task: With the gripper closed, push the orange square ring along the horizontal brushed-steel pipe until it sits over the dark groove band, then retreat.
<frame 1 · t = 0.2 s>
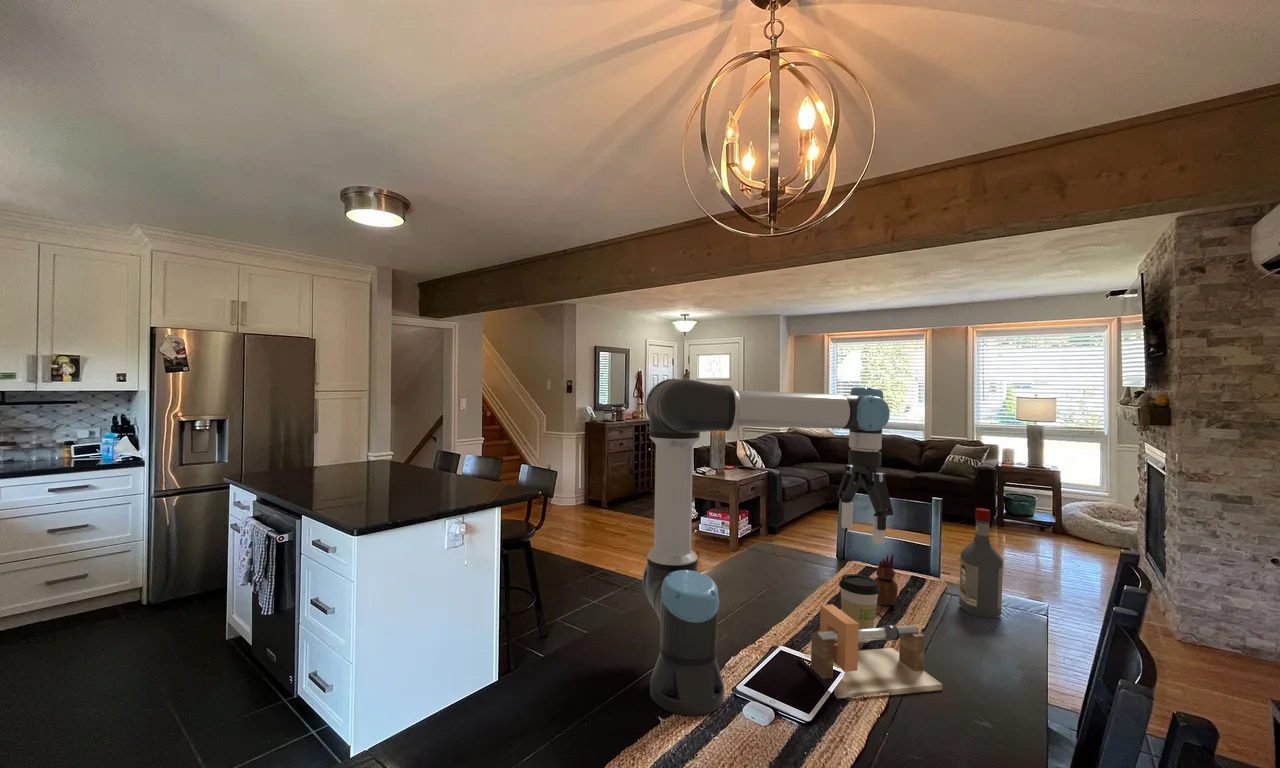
hand: (861, 535, 133), 28 cm above the table, fingers open, 13 cm apart
wooden figurine: (884, 604, 161), on the table
coffee cup: (857, 639, 137), on the table
orange square ring: (838, 636, 118), point 9 cm above the table, slide at 0.0 cm
wooden rod stand: (867, 674, 120), on the table
pipe: (868, 634, 120), point 9 cm above the table
liquor: (979, 612, 157), on the table
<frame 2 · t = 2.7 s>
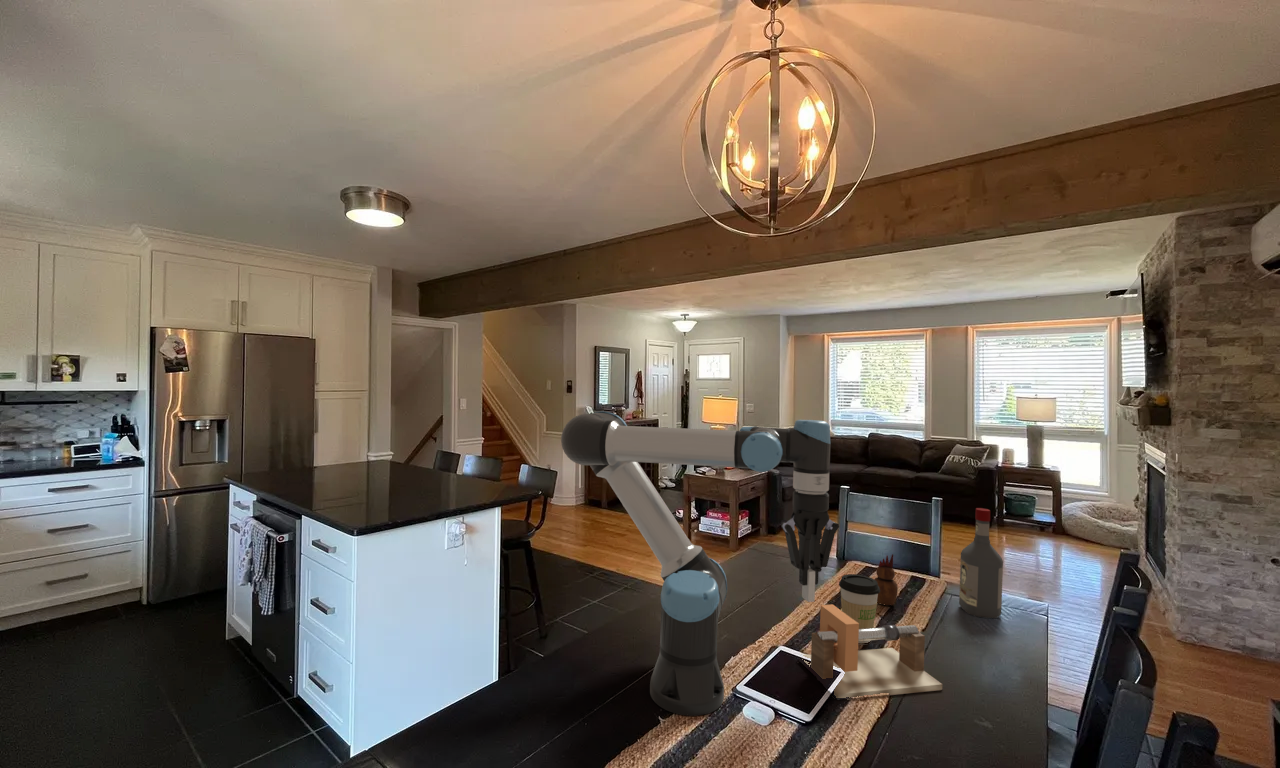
hand: (808, 599, 117), 18 cm above the table, fingers closed
nothing on the table moved.
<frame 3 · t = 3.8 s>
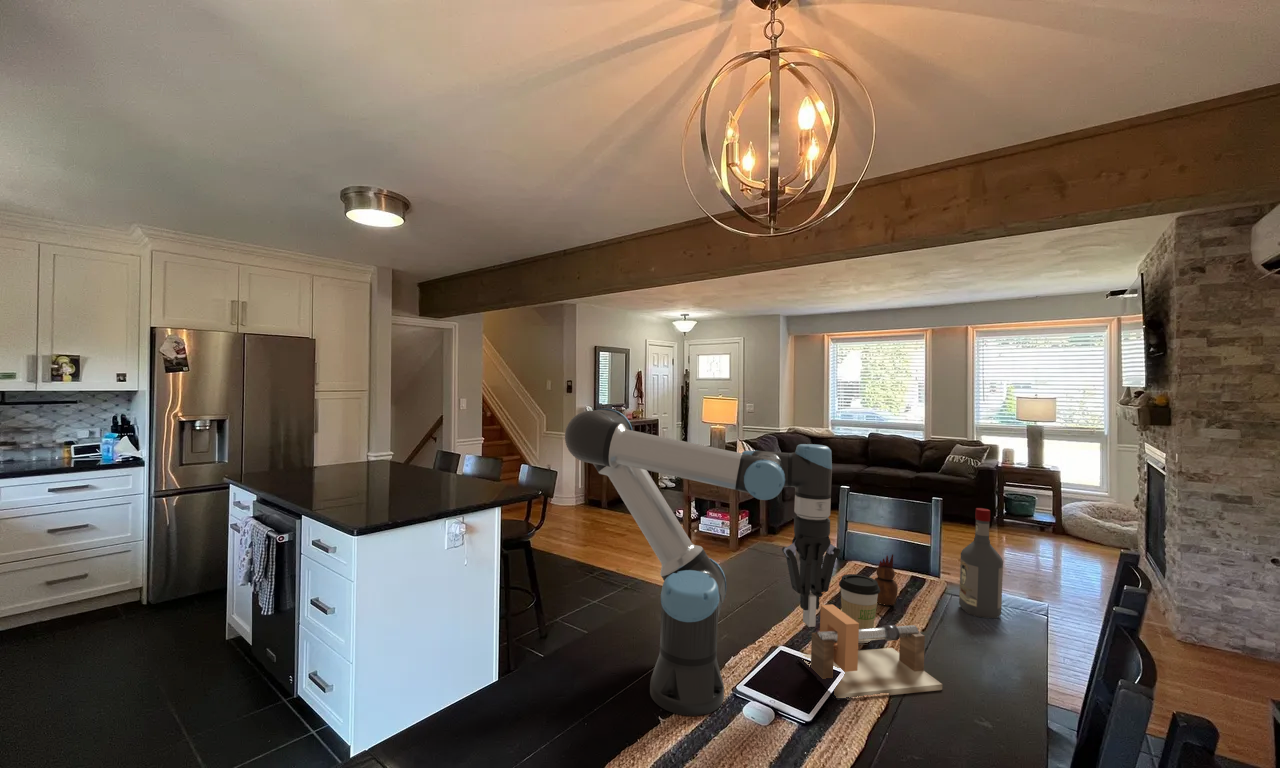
hand: (809, 623, 117), 12 cm above the table, fingers closed
nothing on the table moved.
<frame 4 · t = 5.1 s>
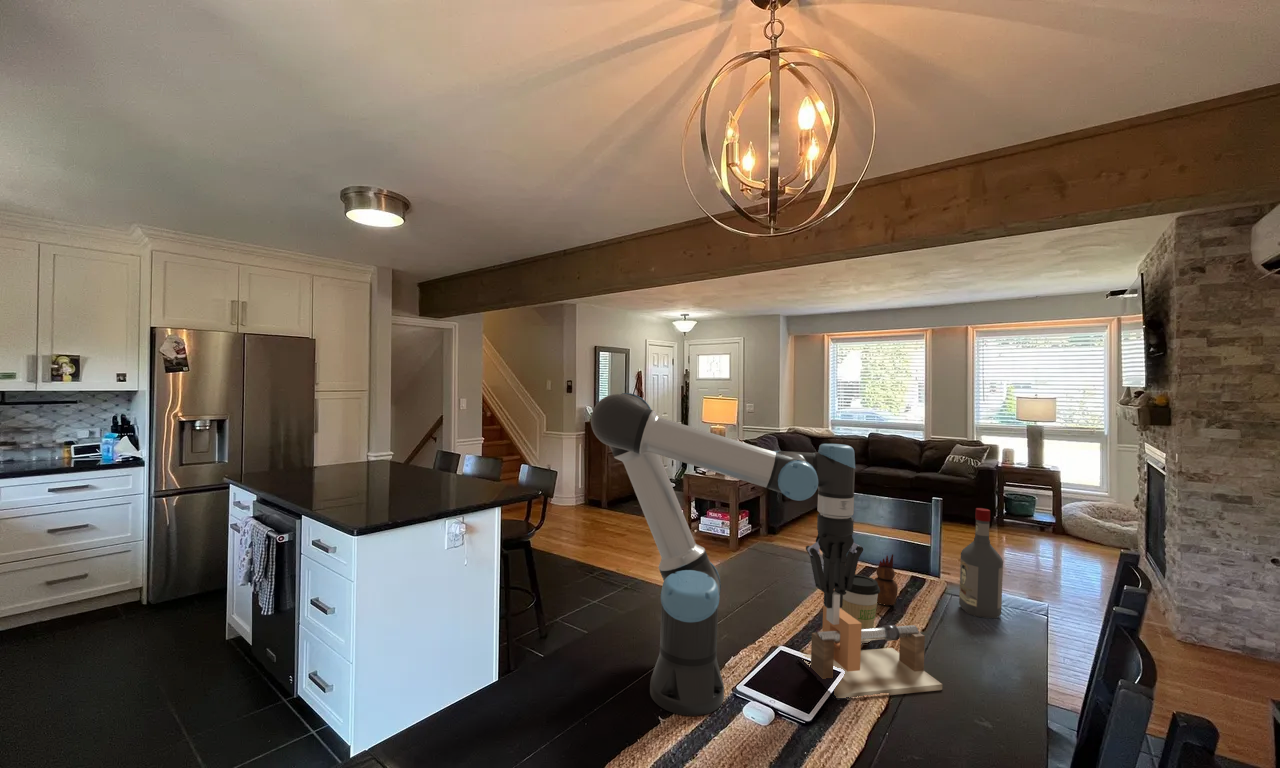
hand: (832, 621, 118), 12 cm above the table, fingers closed
orange square ring: (840, 636, 118), point 9 cm above the table, slide at 0.6 cm, touching gripper
everything else where it was.
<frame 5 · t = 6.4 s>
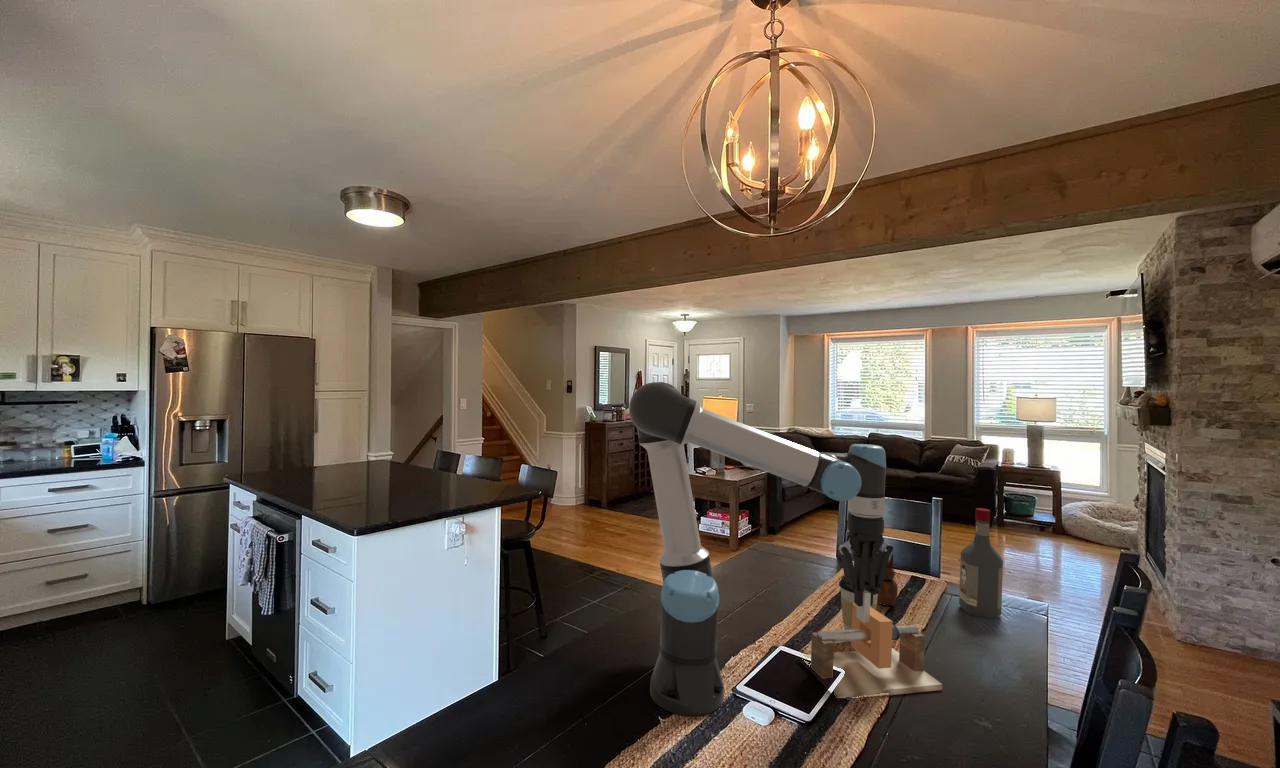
hand: (863, 619, 119), 12 cm above the table, fingers closed
orange square ring: (871, 634, 120), point 9 cm above the table, slide at 8.2 cm, touching gripper
everything else where it was.
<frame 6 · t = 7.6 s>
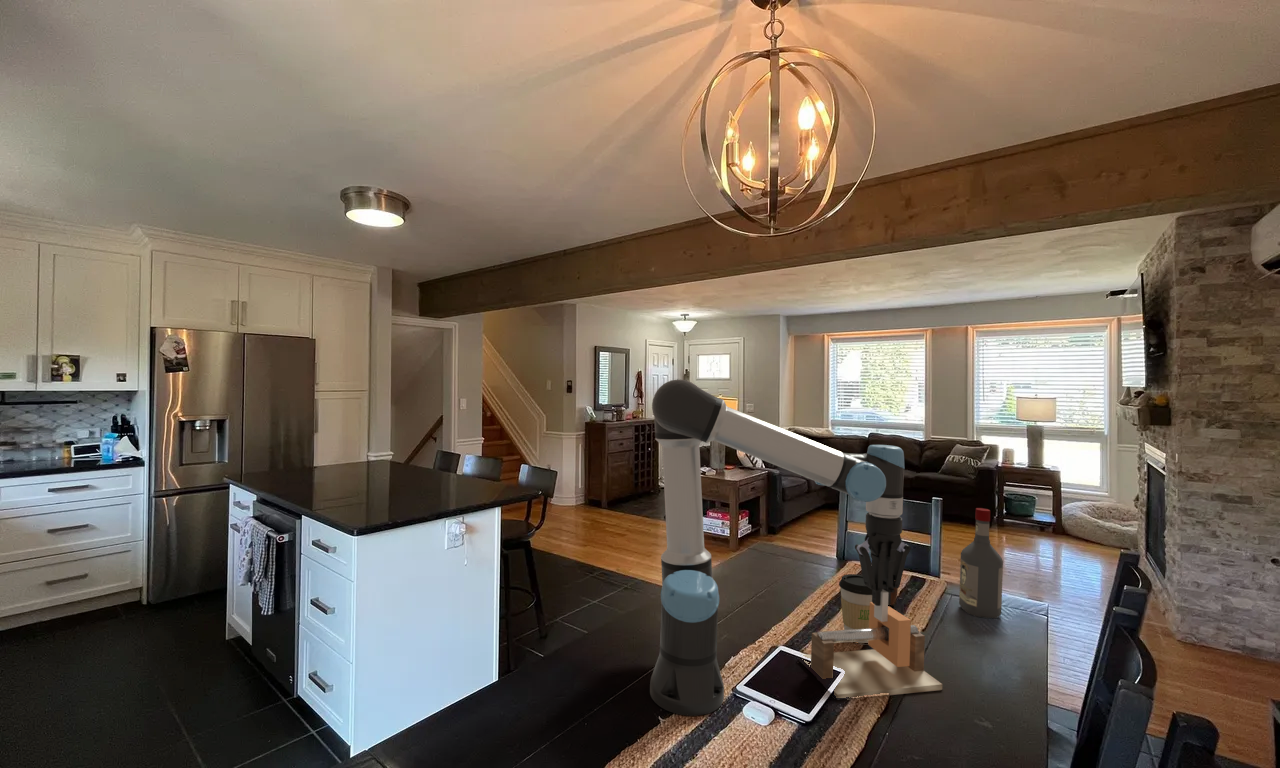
hand: (880, 618, 120), 12 cm above the table, fingers closed
orange square ring: (888, 632, 121), point 9 cm above the table, slide at 12.7 cm, touching gripper
everything else where it was.
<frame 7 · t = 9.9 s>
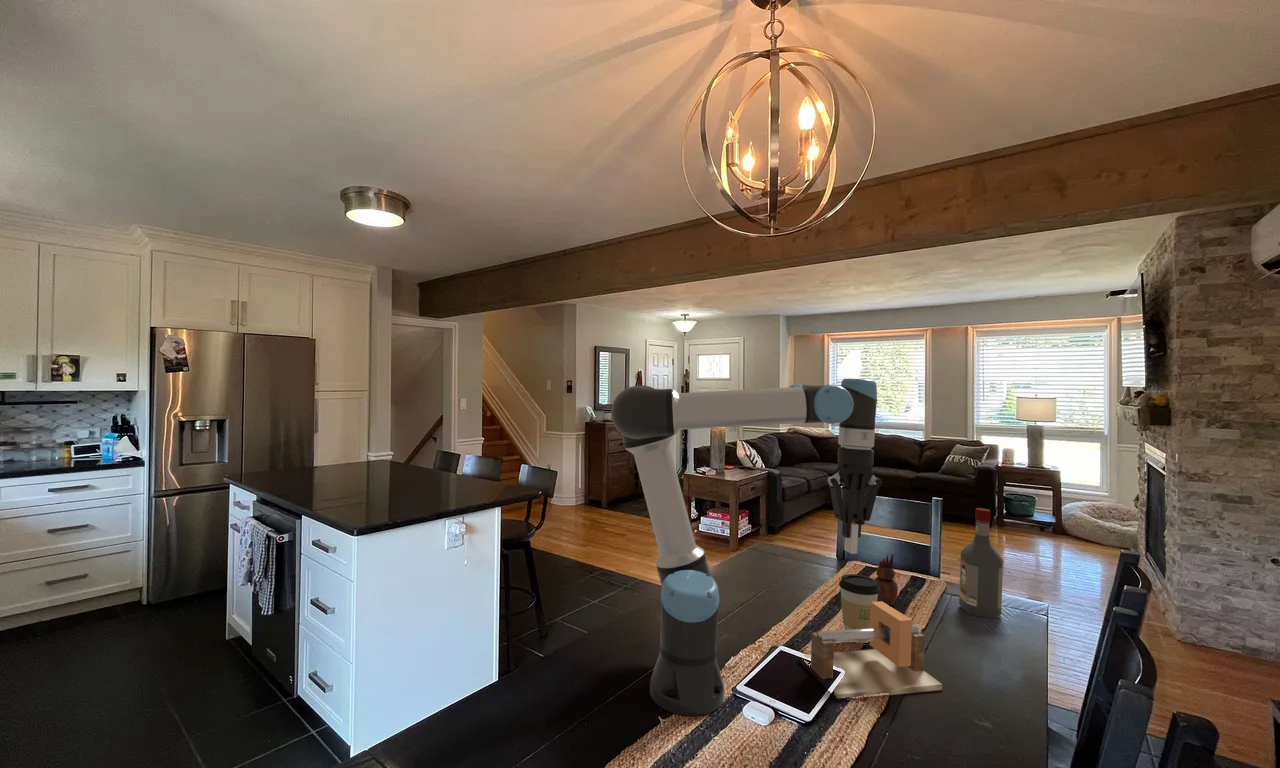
hand: (850, 551, 121), 27 cm above the table, fingers closed
orange square ring: (890, 632, 121), point 9 cm above the table, slide at 13.0 cm
everything else where it was.
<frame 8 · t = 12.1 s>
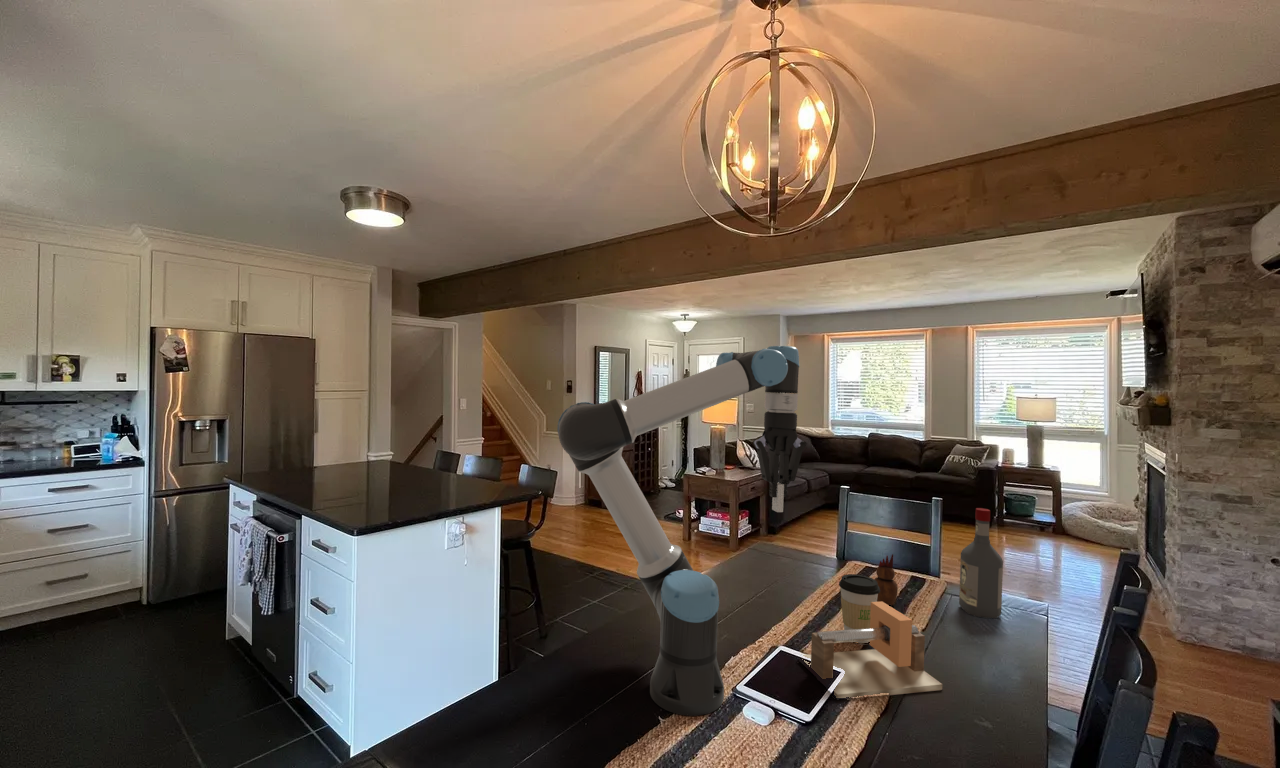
hand: (777, 510, 127), 34 cm above the table, fingers closed
nothing on the table moved.
at the end: orange square ring slide at 13.0 cm; the gripper is holding nothing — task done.
